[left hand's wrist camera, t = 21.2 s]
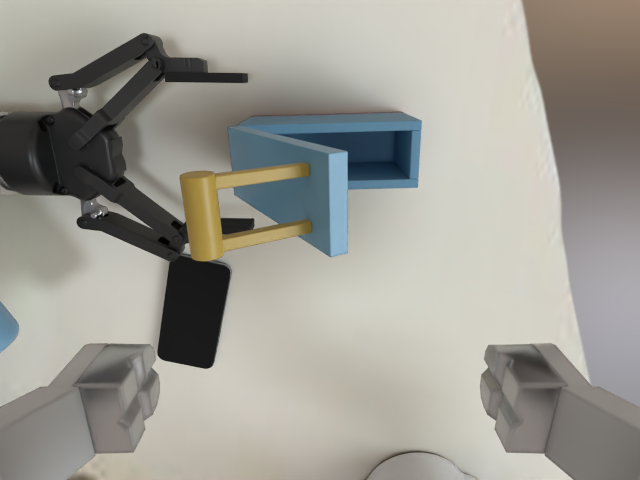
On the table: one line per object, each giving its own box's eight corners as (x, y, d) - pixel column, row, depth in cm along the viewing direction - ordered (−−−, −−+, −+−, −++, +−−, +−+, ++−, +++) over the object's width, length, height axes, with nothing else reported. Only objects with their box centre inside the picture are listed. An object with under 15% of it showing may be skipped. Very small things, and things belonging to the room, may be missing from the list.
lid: (347, 151, 22) (189, 170, 19) (348, 253, 24) (205, 288, 21) (241, 125, 36) (136, 134, 32) (247, 193, 38) (149, 208, 34)
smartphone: (232, 267, 50) (212, 370, 55) (233, 265, 51) (213, 367, 56) (170, 253, 50) (155, 359, 55) (172, 251, 50) (157, 355, 55)
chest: (402, 111, 45) (421, 120, 36) (399, 167, 47) (418, 187, 38) (252, 115, 45) (235, 125, 36) (256, 170, 47) (241, 192, 38)
